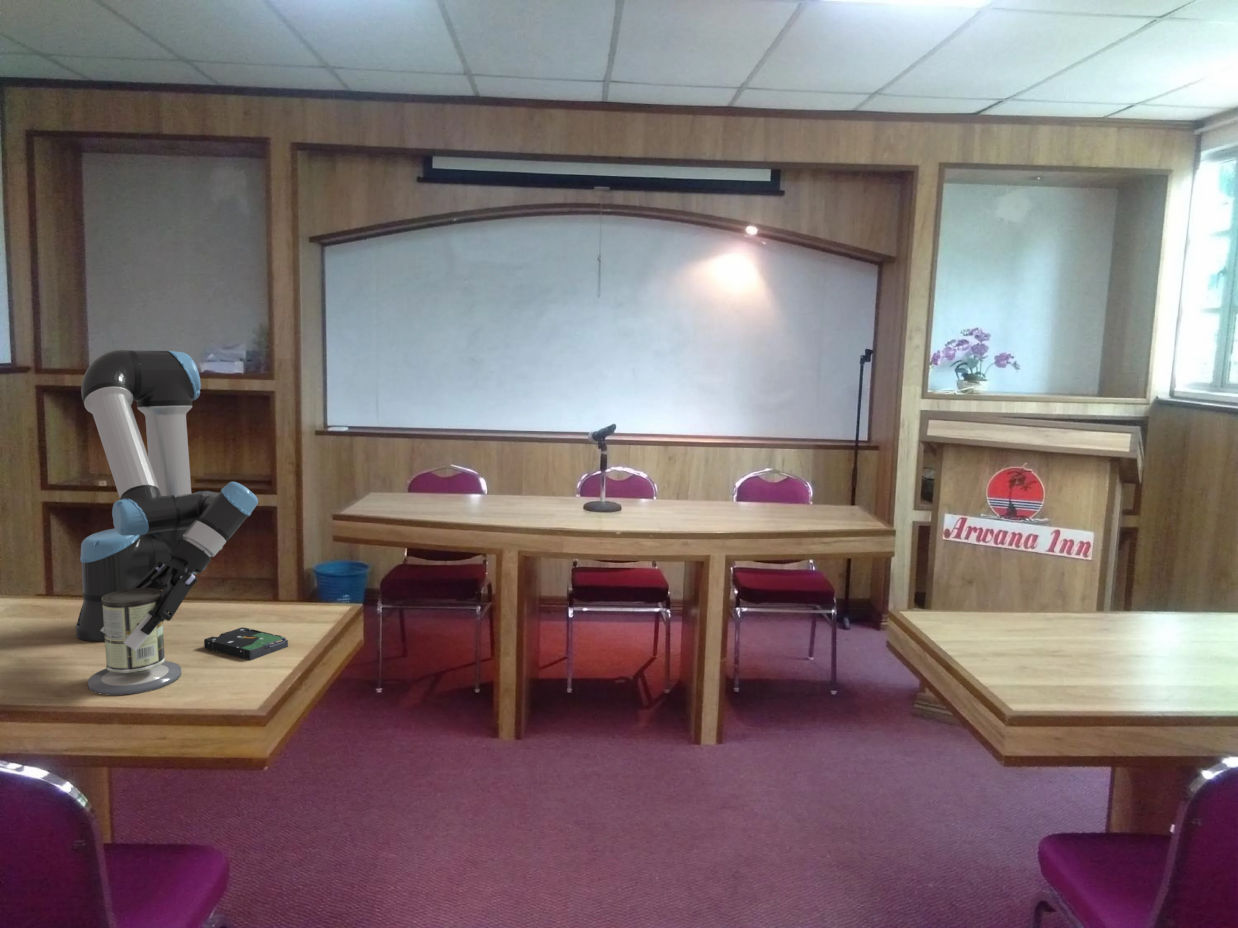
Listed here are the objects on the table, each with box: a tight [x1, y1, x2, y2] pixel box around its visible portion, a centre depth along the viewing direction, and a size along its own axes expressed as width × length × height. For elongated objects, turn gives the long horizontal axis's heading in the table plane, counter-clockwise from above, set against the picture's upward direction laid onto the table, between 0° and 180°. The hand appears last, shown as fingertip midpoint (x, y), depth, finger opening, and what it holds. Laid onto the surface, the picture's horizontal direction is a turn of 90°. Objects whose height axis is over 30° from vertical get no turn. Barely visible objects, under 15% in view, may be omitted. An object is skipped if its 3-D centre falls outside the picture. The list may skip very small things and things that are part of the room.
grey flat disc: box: [87, 660, 182, 696], centre depth 168 cm, size 16×16×1 cm
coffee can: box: [101, 588, 166, 673], centre depth 167 cm, size 10×10×14 cm
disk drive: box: [203, 626, 289, 661], centre depth 188 cm, size 10×3×15 cm
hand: (117, 640), depth 164 cm, fingers closed on coffee can, 10 cm apart
